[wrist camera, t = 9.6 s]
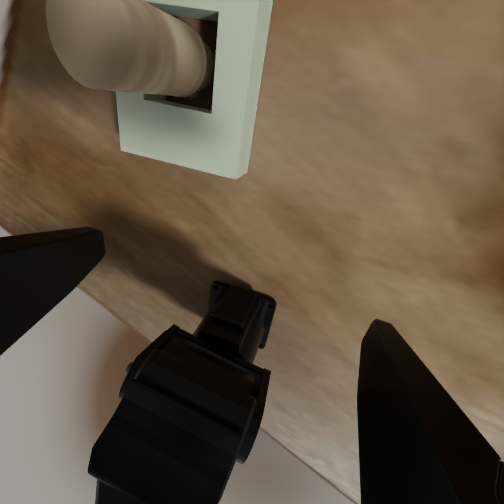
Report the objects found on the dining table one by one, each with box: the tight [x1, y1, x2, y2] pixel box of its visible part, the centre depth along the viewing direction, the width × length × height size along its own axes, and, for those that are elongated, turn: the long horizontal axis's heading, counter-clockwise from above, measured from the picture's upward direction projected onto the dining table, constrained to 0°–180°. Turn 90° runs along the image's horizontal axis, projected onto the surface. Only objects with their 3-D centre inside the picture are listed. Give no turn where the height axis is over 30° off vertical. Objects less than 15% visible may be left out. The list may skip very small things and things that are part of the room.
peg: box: [46, 0, 216, 97], centre depth 14 cm, size 4×4×9 cm
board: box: [116, 0, 273, 180], centre depth 16 cm, size 12×9×2 cm
